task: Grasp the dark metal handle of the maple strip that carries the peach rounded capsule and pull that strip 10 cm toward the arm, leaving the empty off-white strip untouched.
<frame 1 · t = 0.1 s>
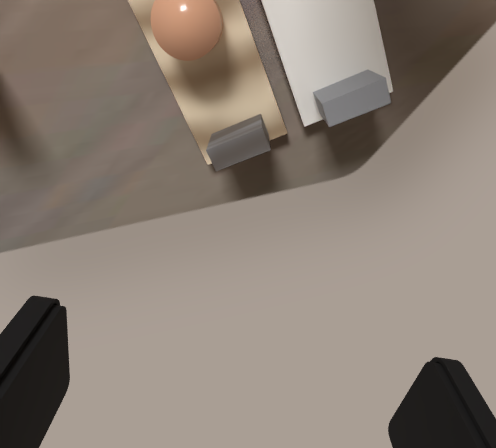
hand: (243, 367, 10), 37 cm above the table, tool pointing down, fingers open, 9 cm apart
peach rounded capsule: (192, 22, 37), point 2 cm above the table, touching maple strip
empty strip: (326, 18, 35), point 4 cm above the table, slide at 0.0 cm
maple strip: (210, 70, 37), point 4 cm above the table, slide at 0.0 cm, touching peach rounded capsule
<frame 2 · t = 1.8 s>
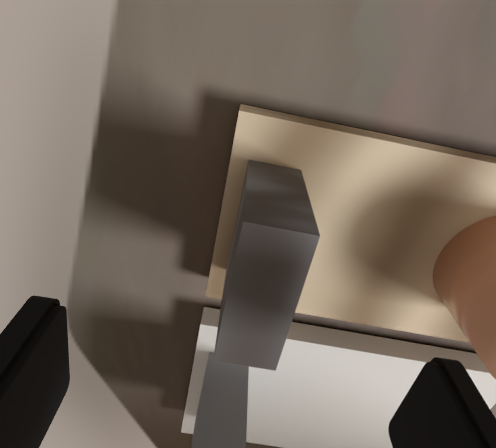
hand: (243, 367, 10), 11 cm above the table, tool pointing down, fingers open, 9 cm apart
peach rounded capsule: (494, 267, 19), point 2 cm above the table, touching maple strip
empty strip: (343, 441, 22), point 4 cm above the table, slide at 0.0 cm
maple strip: (427, 278, 17), point 4 cm above the table, slide at 0.0 cm, touching peach rounded capsule
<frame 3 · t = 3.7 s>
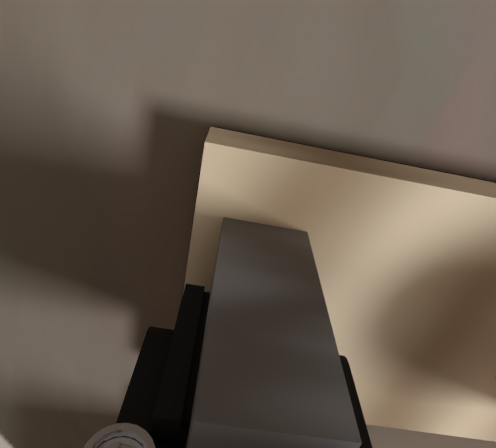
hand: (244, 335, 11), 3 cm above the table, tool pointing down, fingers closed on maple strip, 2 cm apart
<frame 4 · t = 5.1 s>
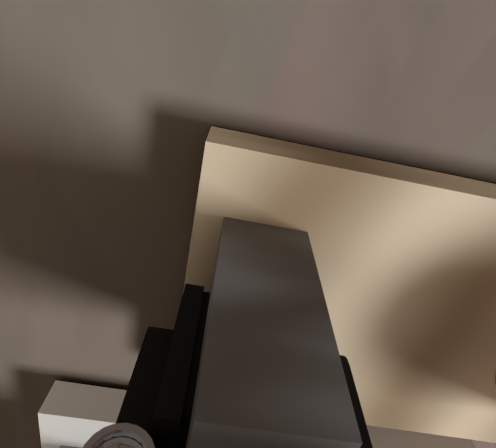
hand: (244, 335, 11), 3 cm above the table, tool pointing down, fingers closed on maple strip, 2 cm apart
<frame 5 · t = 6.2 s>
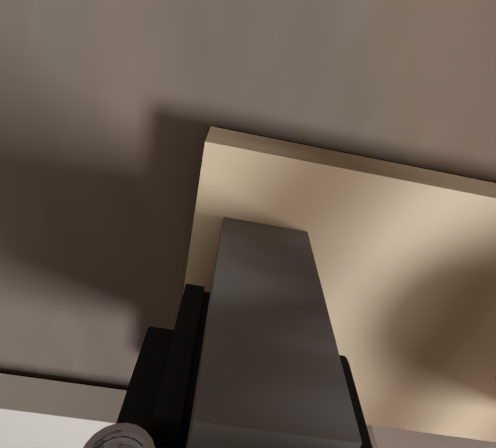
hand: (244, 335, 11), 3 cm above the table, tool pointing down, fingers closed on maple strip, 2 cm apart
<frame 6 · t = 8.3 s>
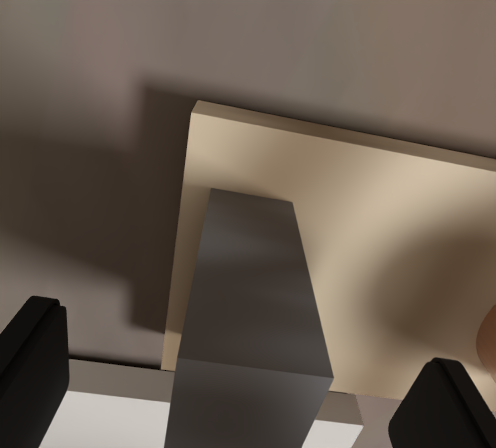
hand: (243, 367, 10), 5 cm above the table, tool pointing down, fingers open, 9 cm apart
maple strip: (481, 362, 11), point 4 cm above the table, slide at 10.0 cm, touching peach rounded capsule
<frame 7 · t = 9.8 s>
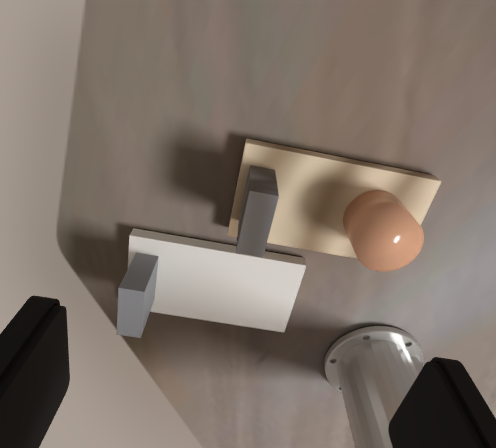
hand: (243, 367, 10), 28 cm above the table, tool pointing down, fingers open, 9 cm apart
peach rounded capsule: (373, 217, 38), point 2 cm above the table, touching maple strip
empty strip: (210, 300, 40), point 4 cm above the table, slide at 0.0 cm
maple strip: (334, 220, 35), point 4 cm above the table, slide at 10.0 cm, touching peach rounded capsule
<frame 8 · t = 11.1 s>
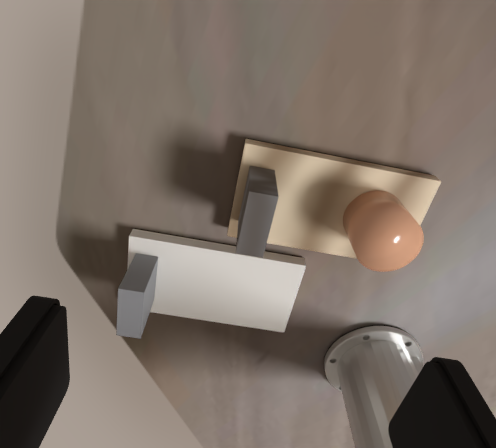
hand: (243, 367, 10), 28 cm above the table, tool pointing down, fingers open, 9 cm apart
peach rounded capsule: (372, 217, 38), point 2 cm above the table, touching maple strip
empty strip: (210, 301, 40), point 4 cm above the table, slide at 0.0 cm
maple strip: (334, 220, 35), point 4 cm above the table, slide at 10.0 cm, touching peach rounded capsule
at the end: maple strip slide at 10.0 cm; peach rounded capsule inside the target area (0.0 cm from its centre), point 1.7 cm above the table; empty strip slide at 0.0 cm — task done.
